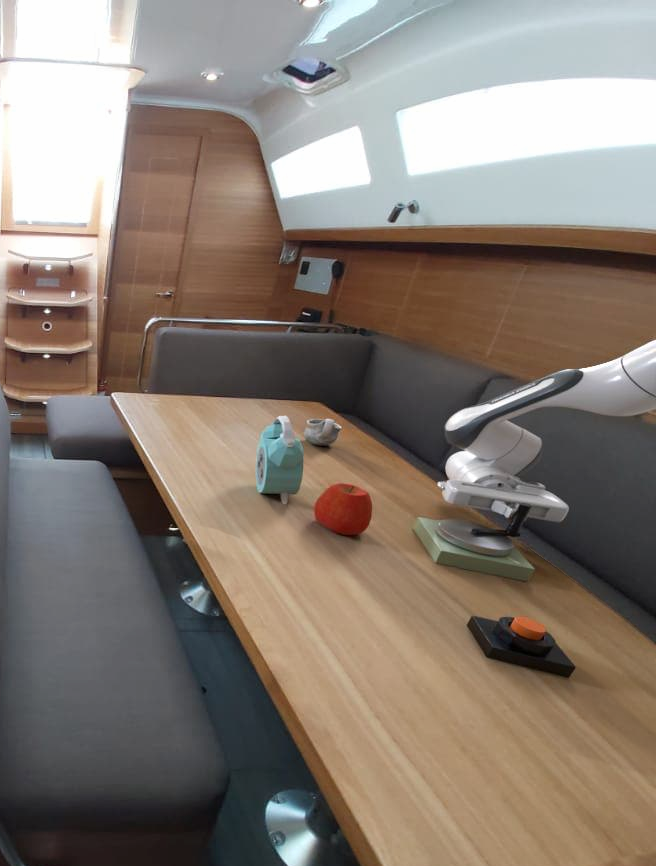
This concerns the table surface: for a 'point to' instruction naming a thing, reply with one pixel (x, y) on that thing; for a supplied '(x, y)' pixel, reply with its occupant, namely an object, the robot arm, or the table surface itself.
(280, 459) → the alarm clock
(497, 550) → the wheel
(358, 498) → the apple
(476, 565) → the dial plate
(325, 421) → the grey spouted pot
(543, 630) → the button
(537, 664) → the button box
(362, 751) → the table surface
